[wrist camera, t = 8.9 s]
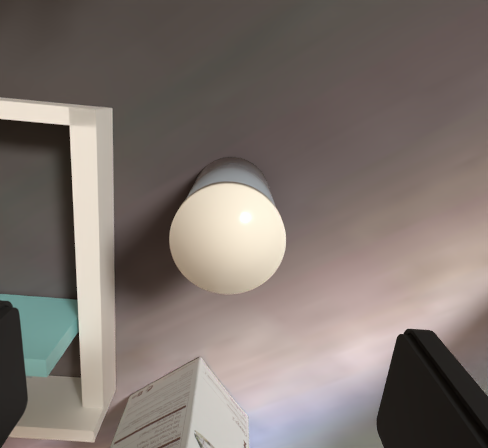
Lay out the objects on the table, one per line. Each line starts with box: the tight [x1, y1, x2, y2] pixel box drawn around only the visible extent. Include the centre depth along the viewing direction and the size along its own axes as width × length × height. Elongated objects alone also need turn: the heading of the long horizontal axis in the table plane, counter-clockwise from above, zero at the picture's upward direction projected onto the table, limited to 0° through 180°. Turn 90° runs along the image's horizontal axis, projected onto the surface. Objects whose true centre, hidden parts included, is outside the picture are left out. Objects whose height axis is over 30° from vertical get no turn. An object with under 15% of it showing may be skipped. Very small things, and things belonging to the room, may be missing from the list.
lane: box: [0, 97, 116, 442], centre depth 25 cm, size 12×22×5 cm, turn 175°
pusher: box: [0, 294, 79, 378], centre depth 26 cm, size 8×5×7 cm, turn 85°
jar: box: [169, 157, 286, 294], centre depth 22 cm, size 5×5×9 cm
